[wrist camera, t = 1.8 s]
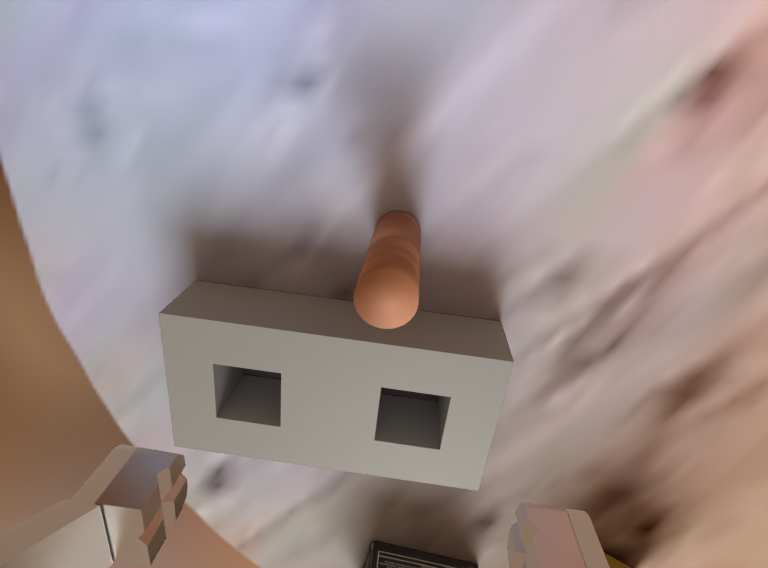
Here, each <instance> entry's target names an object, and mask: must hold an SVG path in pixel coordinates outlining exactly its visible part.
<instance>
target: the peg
mask: <svg viewBox="0 0 768 568" xmlns="http://www.w3.org/2000/svg"><path fill="white" fill-rule="evenodd" d="M420 241H421V230H420V226H419V223H418V222H417V220H416V219H415V218H414V217H413V216H412V215H411V214H409V213H407V212H404V211H391V212H389V213H387V214H385V215H384V216H382V217H381V218H380V220H379V221H378V223H377V225H376V228H375V231H374V234H373V237H372V240H371V243H370V246H369V249H368V252H367V255H366V258H365V261H364V264H363V267H362V270H361V273H360V276H359V279H358V282H357V285H356V288H355V291H354V296H353V300H354V306H355V309H356V311H357V313H358V314H359V316H360V317H361V318H362V319H363V320H364V321H366V322H367V323H368V324H370V325H372V326H374V327H378V328H382V329H392V328H397V327H400V326H402V325H404V324H406V323H407V322H409V321H410V320H411V319H412V318H413V316H414V315H415V313H416V311H417V309H418V304H419V276H420Z"/></svg>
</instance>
